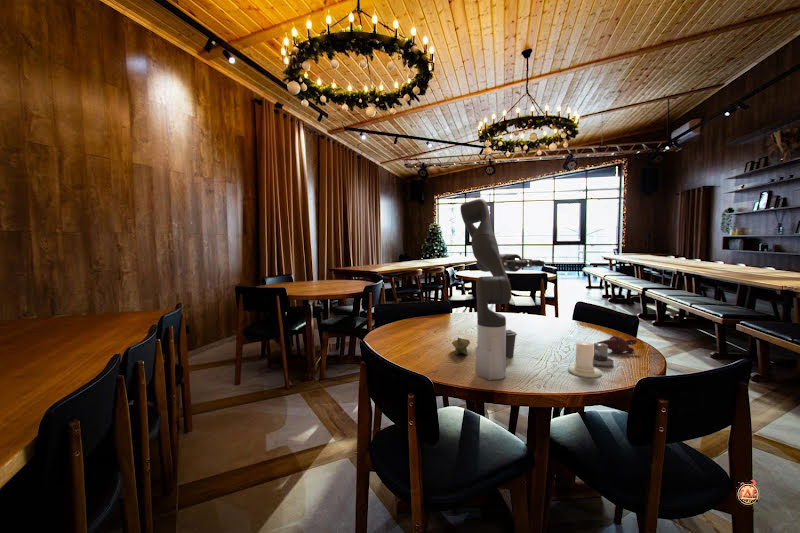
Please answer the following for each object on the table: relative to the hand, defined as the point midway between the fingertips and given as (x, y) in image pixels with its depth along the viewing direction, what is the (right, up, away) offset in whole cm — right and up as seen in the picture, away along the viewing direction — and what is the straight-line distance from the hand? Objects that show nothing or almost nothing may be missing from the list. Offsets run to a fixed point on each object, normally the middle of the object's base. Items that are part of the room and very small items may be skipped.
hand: (534, 264), depth 134 cm
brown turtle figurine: (+34, -36, +3) cm, 49 cm away
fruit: (-28, -37, +5) cm, 46 cm away
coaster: (+10, -37, -17) cm, 42 cm away
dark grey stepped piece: (+21, -36, -9) cm, 43 cm away
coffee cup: (-11, -36, +2) cm, 38 cm away
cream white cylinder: (+10, -36, -17) cm, 41 cm away
